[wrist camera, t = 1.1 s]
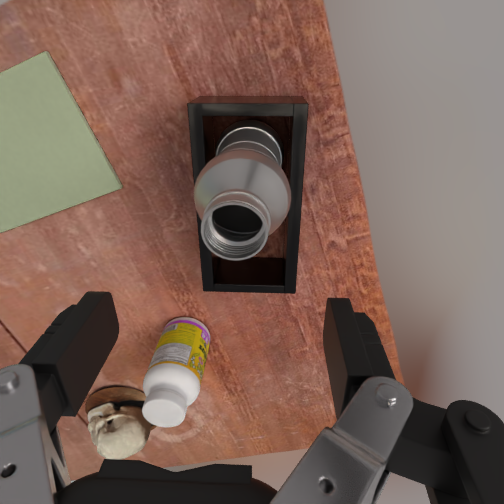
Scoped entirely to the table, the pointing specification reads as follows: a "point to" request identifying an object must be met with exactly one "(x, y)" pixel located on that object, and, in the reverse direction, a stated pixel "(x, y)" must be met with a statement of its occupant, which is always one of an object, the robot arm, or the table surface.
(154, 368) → the supplement bottle
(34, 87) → the mat
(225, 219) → the silver water bottle
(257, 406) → the table surface
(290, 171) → the bottle rack
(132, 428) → the skull
